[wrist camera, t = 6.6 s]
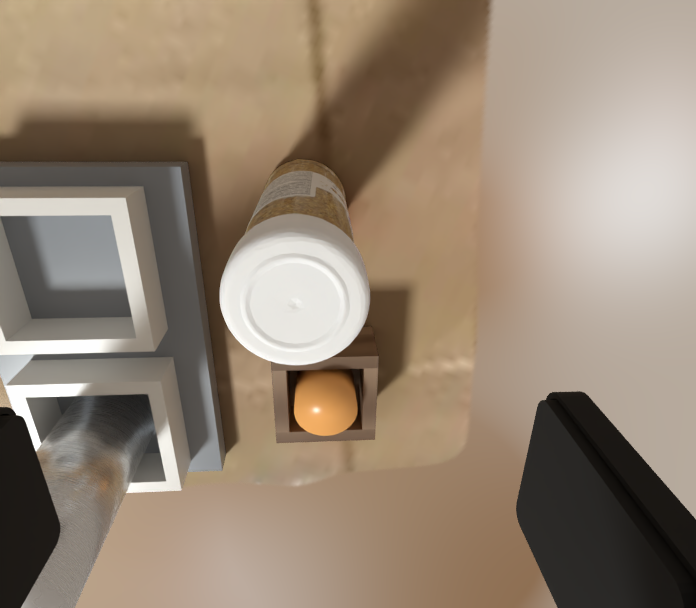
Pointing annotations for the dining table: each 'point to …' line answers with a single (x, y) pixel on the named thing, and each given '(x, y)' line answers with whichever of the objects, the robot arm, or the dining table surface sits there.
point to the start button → (325, 401)
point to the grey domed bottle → (88, 485)
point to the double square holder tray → (109, 305)
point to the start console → (355, 357)
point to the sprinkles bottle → (297, 270)
